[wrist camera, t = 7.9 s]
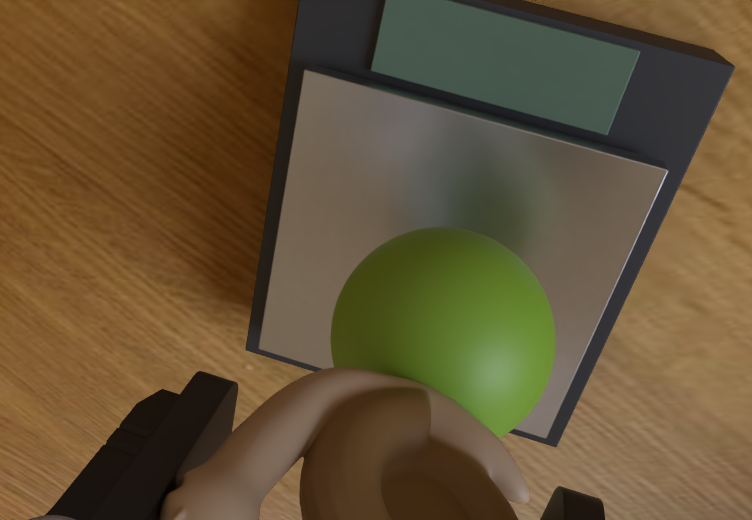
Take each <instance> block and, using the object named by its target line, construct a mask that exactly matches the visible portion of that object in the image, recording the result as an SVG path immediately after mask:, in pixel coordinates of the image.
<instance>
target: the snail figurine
mask: <svg viewBox="0 0 752 520" xmlns="http://www.w3.org/2000/svg"><path fill="white" fill-rule="evenodd" d="M330 341H331V354H332V360H333V365H334V367H332V368H326V369H322V370H319V371H316V372H313V373H311V374H308V375H306V376H304V377H302V378H300V379H298V380H296V381H294V382H292V383H291V384H289V385H287V386H286V387H284V388H283V389H281V390H280V391H278V392H277V393H275V394H274V395H273V396H271V397H270V398H269V399H268V400H267V401H265V402H264V403H263V404H262V405H261V406H260V407H259V408H258V409H257V410H255V411H254V412H253V413H252V414H251V415H250V416H249V417H248V418H247V419H246V420H245V421H244V422H243V423H242V424H240V425H239V426H238V427H237V428H236V429H235V430H234V431H233V432H232V433H231V434H230V435H229V436H228V437H227V439H226V440H225V441H224V442H223V443H222V444H221V445H220V447H219V448H218V449H217V451H216V452H215V453H214V454H213V455H212V456H211V457H210V458H209V459H208V460H207V461H206V462H205V463H203V464H202V465H200V466H198V467H196V468H194V469H192V470H190V471H188V472H187V473H185V474H184V475H183V476H182V477H181V479H180V480H179V482H178V485H177V488H176V490H174V491H172V492H170V493H168V494H167V495H166V496H165V497H164V499H163V502H162V505H161V508H160V520H259V514H260V506H261V503H262V501H263V499H264V498H265V496H266V495H267V494H268V493H269V491H270V490H271V489H272V488H273V487H274V486H275V484H276V483H277V482H278V481H279V480H280V479H281V478H282V477H283V476H284V474H285V473H286V472H287V471H288V470H289V469H290V468H291V467H292V466H293V465H294V464H295V463H296V462H297V461H298V460H299V459H300V458H301V457H304V462H303V466H302V471H301V479H300V506H301V513H302V519H303V520H518V518H517V516H516V514H515V512H514V511H513V509H512V507H511V505H510V504H509V502H508V501H507V500H509V501H511V502H514V503H519V504H523V503H526V502H528V500H529V498H530V491H529V488H528V485H527V482H526V480H525V478H524V476H523V474H522V472H521V470H520V468H519V467H518V465H517V463H516V462H515V460H514V458H513V457H512V455H511V454H510V452H509V451H508V449H507V448H506V447H505V445H504V444H503V443H502V442H501V440H500V439H499V438H501V437H502V436H504V435H506V434H507V433H509V432H510V431H511V430H513V429H514V428H515V427H516V426H517V425H519V424H520V423H521V422H522V421H523V420H524V419H525V418H526V417H527V416H528V414H529V413H530V412H531V411H532V410H533V408H534V407H535V405H536V404H537V403H538V401H539V399H540V398H541V396H542V394H543V392H544V390H545V388H546V386H547V384H548V381H549V378H550V375H551V372H552V368H553V364H554V358H555V349H556V333H555V324H554V318H553V314H552V310H551V307H550V304H549V301H548V298H547V296H546V294H545V292H544V290H543V288H542V286H541V284H540V282H539V281H538V279H537V278H536V276H535V275H534V273H533V272H532V271H531V270H530V268H529V267H528V266H527V265H526V264H525V263H524V262H523V261H522V260H521V259H520V258H519V257H518V256H517V255H516V254H515V253H514V252H512V251H511V250H510V249H508V248H507V247H505V246H504V245H502V244H501V243H499V242H497V241H496V240H494V239H492V238H490V237H487V236H485V235H482V234H480V233H477V232H474V231H470V230H466V229H461V228H453V227H431V228H423V229H418V230H414V231H410V232H407V233H404V234H401V235H399V236H397V237H394V238H392V239H390V240H389V241H387V242H385V243H383V244H382V245H380V246H379V247H377V248H376V249H375V250H373V251H372V252H371V253H370V254H368V255H367V256H366V257H365V258H364V259H363V260H362V261H361V262H360V263H359V264H358V266H357V267H356V268H355V269H354V270H353V272H352V273H351V275H350V276H349V278H348V279H347V281H346V282H345V284H344V286H343V288H342V290H341V292H340V294H339V297H338V299H337V302H336V305H335V309H334V313H333V317H332V323H331V335H330Z"/></svg>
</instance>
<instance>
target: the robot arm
mask: <svg viewBox="0 0 752 520" xmlns="http://www.w3.org/2000/svg"><path fill="white" fill-rule="evenodd" d="M237 394H238V384H237V382H234V381H230V380H227V379H224V378H221V377H218V376H215V375H212V374H208V373H205V372H202V371H199V372H197V373H196V374H195V375H194V376H193V378H192V379H191V380H190V382H189V383H188V384H187V386H186V387H185V388H184V390H183V391H182V392H181V394H180V395H179V394H176V393H173V392H170V391H167V390H164V389H161V390H160V391H158V392H156V393H154V394H153V395H151V396H149V397H147V398H146V399H144V400H142V401H141V402H139V403H137V404H136V405H135V407H134V408H133V409H132V410H131V412H130V413H129V414H128V415H127V417H126V418H125V419H124V420H123V421H122V423H121V424H120V427H119V428H117V429H116V430H115V431H114V433H113V434H112V435H111V436H110V437H109V439H108V440H107V442H106V444H105V445H103V446H102V447H101V448H100V450H99V451H98V452H97V453H96V455H95V456H94V457H93V458H92V460H91V461H90V462H89V463H88V464H87V466H86V467H85V468H84V469H83V471H82V472H81V473H80V474H79V476H78V477H77V478H76V479H75V480H74V482H73V483H72V484H71V485H70V487H69V488H68V489H67V490H66V491H65V493H64V494H63V495H62V496H61V498H60V499H59V500H58V501H57V503H56V504H55V505H54V506H53V507H52V508H51V510H50V511H49V512H48V513H47V514H46V515H44V516H40V517H35V518H32V519H29V520H160V508H161V505H162V502H163V499H164V497H165V496H166V495H167V494H168V493H170V492H172V491H174V490H176V488H177V485H178V482H179V480H180V479H181V477H182V476H183V475H184V474H185V473H187V472H188V471H190V470H192V469H194V468H196V467H198V466H200V465H202V464H203V463H205V462H206V461H207V460H208V459H209V458H210V457H211V456H212V455H213V454H214V453H215V452H216V451H217V449H218V448H219V447H220V445H221V444H222V443H223V442H224V441H225V440H226V439H227V437H228V436H229V435H230V434H231V433H232V427H233V420H234V413H235V407H236V400H237ZM540 520H605V515H604V507H603V503H602V501H601V500H600V499H599V498H595V497H592V496H589V495H586V494H583V493H580V492H577V491H573V490H570V489H567V488H564V487H561V486H559V487H557V488H556V489H555V491H554V493H553V495H552V497H551V499H550V501H549V503H548V505H547V507H546V509H545V511H544V513H543V515H542V517H541V519H540Z"/></svg>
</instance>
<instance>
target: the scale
mask: <svg viewBox="0 0 752 520" xmlns="http://www.w3.org/2000/svg"><path fill="white" fill-rule="evenodd" d="M311 65H316V66H320V67H324V68H327V69H331V70H335V71H338V72H342V73H346V74H349V75H353V76H356V77H360V78H364V79H367V80H371V81H375V82H378V83H382V84H386V85H389V86H393V87H396V88H400V89H404V90H407V91H411V92H415V93H418V94H422V95H426V96H429V97H433V98H436V99H440V100H444V101H447V102H451V103H455V104H458V105H462V106H466V107H469V108H473V109H476V110H480V111H484V112H487V113H491V114H495V115H498V116H502V117H506V118H509V119H513V120H516V121H520V122H524V123H527V124H531V125H535V126H538V127H542V128H546V129H549V130H553V131H556V132H560V133H564V134H567V135H571V136H575V137H578V138H582V139H586V140H589V141H593V142H596V143H600V144H604V145H607V146H611V147H615V148H618V149H622V150H626V151H629V152H633V153H636V154H640V155H644V156H647V157H651V158H655V159H658V160H662V161H664V162H665V164H666V166H667V168H668V173H667V175H666V178H665V180H664V182H663V184H662V186H661V188H660V191H659V193H658V195H657V197H656V199H655V202H654V204H653V206H652V208H651V210H650V213H649V215H648V217H647V219H646V221H645V223H644V226H643V228H642V230H641V232H640V234H639V237H638V239H637V241H636V243H635V245H634V248H633V250H632V252H631V254H630V256H629V258H628V261H627V263H626V265H625V267H624V269H623V272H622V274H621V276H620V278H619V280H618V283H617V285H616V287H615V289H614V291H613V294H612V296H611V298H610V300H609V302H608V304H607V307H606V309H605V311H604V313H603V315H602V318H601V320H600V322H599V324H598V326H597V329H596V331H595V333H594V335H593V337H592V339H591V342H590V344H589V346H588V348H587V350H586V353H585V355H584V357H583V359H582V361H581V364H580V366H579V368H578V370H577V372H576V374H575V377H574V379H573V381H572V383H571V385H570V388H569V390H568V392H567V394H566V396H565V399H564V401H563V403H562V405H561V407H560V410H559V412H558V414H557V416H556V418H555V420H554V423H553V425H552V427H551V429H550V431H549V434H548V436H547V438H542V437H539V436H536V435H532V434H529V433H526V432H523V431H520V430H516V429H513V430H511V431H510V432H509V433H512V434H515V435H518V436H521V437H525V438H528V439H531V440H534V441H537V442H541V443H544V444H547V445H550V446H553V447H557V445H558V443H559V441H560V438H561V436H562V434H563V432H564V430H565V428H566V426H567V424H568V421H569V419H570V417H571V415H572V413H573V411H574V409H575V407H576V404H577V402H578V400H579V398H580V396H581V394H582V392H583V390H584V387H585V385H586V383H587V381H588V379H589V377H590V375H591V373H592V370H593V368H594V366H595V364H596V362H597V360H598V358H599V356H600V353H601V351H602V349H603V347H604V345H605V343H606V341H607V339H608V336H609V334H610V332H611V330H612V328H613V326H614V324H615V322H616V319H617V317H618V315H619V313H620V311H621V309H622V307H623V305H624V302H625V300H626V298H627V296H628V294H629V292H630V290H631V288H632V285H633V283H634V281H635V279H636V277H637V275H638V273H639V271H640V268H641V266H642V264H643V262H644V260H645V258H646V256H647V254H648V251H649V249H650V247H651V245H652V243H653V241H654V239H655V237H656V234H657V232H658V230H659V228H660V226H661V224H662V222H663V220H664V217H665V215H666V213H667V211H668V209H669V207H670V205H671V203H672V200H673V198H674V196H675V194H676V192H677V190H678V188H679V186H680V183H681V181H682V179H683V177H684V175H685V173H686V171H687V169H688V166H689V164H690V162H691V160H692V158H693V156H694V154H695V152H696V149H697V147H698V145H699V143H700V141H701V139H702V137H703V135H704V132H705V130H706V128H707V126H708V124H709V122H710V120H711V118H712V115H713V113H714V111H715V109H716V107H717V105H718V103H719V101H720V98H721V96H722V94H723V92H724V90H725V88H726V86H727V84H728V81H729V79H730V77H731V75H732V73H733V71H734V69H735V66H734V65H732V64H731V63H730V62H728V61H727V60H726V59H724V58H723V57H722V56H721V55H719V54H718V53H717V52H715V51H714V50H711V49H708V48H704V47H700V46H696V45H692V44H688V43H685V42H681V41H677V40H673V39H669V38H665V37H662V36H658V35H654V34H650V33H646V32H642V31H638V30H635V29H631V28H627V27H623V26H619V25H615V24H612V23H608V22H604V21H600V20H596V19H592V18H588V17H585V16H581V15H577V14H573V13H569V12H565V11H562V10H558V9H554V8H550V7H546V6H542V5H539V4H535V3H531V2H527V1H523V0H299V4H298V10H297V17H296V23H295V30H294V36H293V43H292V49H291V56H290V63H289V69H288V76H287V82H286V89H285V95H284V102H283V108H282V115H281V121H280V128H279V134H278V141H277V147H276V154H275V160H274V167H273V173H272V180H271V187H270V193H269V200H268V206H267V213H266V219H265V226H264V232H263V239H262V245H261V252H260V258H259V265H258V271H257V278H256V284H255V291H254V298H253V304H252V311H251V317H250V324H249V330H248V337H247V343H246V350H247V351H250V352H253V353H257V354H260V355H263V356H266V357H269V358H272V359H276V360H279V361H282V362H285V363H288V364H292V365H295V366H298V367H301V368H304V369H308V370H311V371H314V372H316V371H319V370H322V369H321V368H318V367H315V366H312V365H309V364H305V363H302V362H299V361H296V360H293V359H289V358H286V357H283V356H280V355H277V354H273V353H270V352H267V351H264V350H261V349H259V341H260V335H261V329H262V323H263V317H264V311H265V305H266V299H267V293H268V287H269V281H270V274H271V268H272V262H273V256H274V250H275V244H276V238H277V232H278V226H279V220H280V214H281V208H282V201H283V195H284V189H285V183H286V177H287V171H288V165H289V159H290V153H291V147H292V141H293V135H294V128H295V122H296V116H297V110H298V104H299V98H300V92H301V86H302V80H303V74H304V70H305V69H306V68H308V67H309V66H311Z"/></svg>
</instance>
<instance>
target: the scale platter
mask: <svg viewBox="0 0 752 520" xmlns="http://www.w3.org/2000/svg"><path fill="white" fill-rule="evenodd" d="M667 173H668V168H667V166H666V164H665V162H664V161H662V160H658V159H655V158H651V157H647V156H644V155H640V154H636V153H633V152H629V151H626V150H622V149H618V148H615V147H611V146H607V145H604V144H600V143H596V142H593V141H589V140H586V139H582V138H578V137H575V136H571V135H567V134H564V133H560V132H556V131H553V130H549V129H546V128H542V127H538V126H535V125H531V124H527V123H524V122H520V121H516V120H513V119H509V118H506V117H502V116H498V115H495V114H491V113H487V112H484V111H480V110H476V109H473V108H469V107H466V106H462V105H458V104H455V103H451V102H447V101H444V100H440V99H436V98H433V97H429V96H426V95H422V94H418V93H415V92H411V91H407V90H404V89H400V88H396V87H393V86H389V85H386V84H382V83H378V82H375V81H371V80H367V79H364V78H360V77H356V76H353V75H349V74H346V73H342V72H338V71H335V70H331V69H327V68H324V67H320V66H316V65H311V66H309V67H308V68H306V69H305V70H304V74H303V80H302V86H301V92H300V98H299V104H298V110H297V116H296V122H295V128H294V135H293V141H292V147H291V153H290V159H289V165H288V171H287V177H286V183H285V189H284V195H283V201H282V208H281V214H280V220H279V226H278V232H277V238H276V244H275V250H274V256H273V262H272V268H271V274H270V281H269V287H268V293H267V299H266V305H265V311H264V317H263V323H262V329H261V335H260V341H259V349H261V350H264V351H267V352H270V353H273V354H277V355H280V356H283V357H286V358H289V359H293V360H296V361H299V362H302V363H305V364H309V365H312V366H315V367H318V368H321V369H326V368H332V367H334V365H333V360H332V354H331V341H330V335H331V323H332V317H333V313H334V309H335V305H336V302H337V299H338V297H339V294H340V292H341V290H342V288H343V286H344V284H345V282H346V281H347V279H348V278H349V276H350V275H351V273H352V272H353V270H354V269H355V268H356V267H357V266H358V264H359V263H360V262H361V261H362V260H363V259H364V258H365V257H366V256H367V255H368V254H370V253H371V252H372V251H373V250H375V249H376V248H377V247H379V246H380V245H382V244H383V243H385V242H387V241H389V240H390V239H392V238H394V237H397V236H399V235H401V234H404V233H407V232H410V231H414V230H418V229H423V228H431V227H453V228H461V229H466V230H470V231H474V232H477V233H480V234H482V235H485V236H487V237H490V238H492V239H494V240H496V241H497V242H499V243H501V244H502V245H504V246H505V247H507V248H508V249H510V250H511V251H512V252H514V253H515V254H516V255H517V256H518V257H519V258H520V259H521V260H522V261H523V262H524V263H525V264H526V265H527V266H528V267H529V268H530V270H531V271H532V272H533V273H534V275H535V276H536V278H537V279H538V281H539V282H540V284H541V286H542V288H543V290H544V292H545V294H546V296H547V298H548V301H549V304H550V307H551V310H552V314H553V318H554V324H555V333H556V349H555V358H554V364H553V368H552V372H551V375H550V378H549V381H548V384H547V386H546V388H545V390H544V392H543V394H542V396H541V398H540V399H539V401H538V403H537V404H536V405H535V407H534V408H533V410H532V411H531V412H530V413H529V414H528V416H527V417H526V418H525V419H524V420H523V421H522V422H521V423H520V424H519V425H517V426H516V427H515V428H514V429H516V430H520V431H523V432H526V433H529V434H532V435H536V436H539V437H542V438H547V436H548V434H549V431H550V429H551V427H552V425H553V423H554V420H555V418H556V416H557V414H558V412H559V410H560V407H561V405H562V403H563V401H564V399H565V396H566V394H567V392H568V390H569V388H570V385H571V383H572V381H573V379H574V377H575V374H576V372H577V370H578V368H579V366H580V364H581V361H582V359H583V357H584V355H585V353H586V350H587V348H588V346H589V344H590V342H591V339H592V337H593V335H594V333H595V331H596V329H597V326H598V324H599V322H600V320H601V318H602V315H603V313H604V311H605V309H606V307H607V304H608V302H609V300H610V298H611V296H612V294H613V291H614V289H615V287H616V285H617V283H618V280H619V278H620V276H621V274H622V272H623V269H624V267H625V265H626V263H627V261H628V258H629V256H630V254H631V252H632V250H633V248H634V245H635V243H636V241H637V239H638V237H639V234H640V232H641V230H642V228H643V226H644V223H645V221H646V219H647V217H648V215H649V213H650V210H651V208H652V206H653V204H654V202H655V199H656V197H657V195H658V193H659V191H660V188H661V186H662V184H663V182H664V180H665V178H666V175H667Z"/></svg>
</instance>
